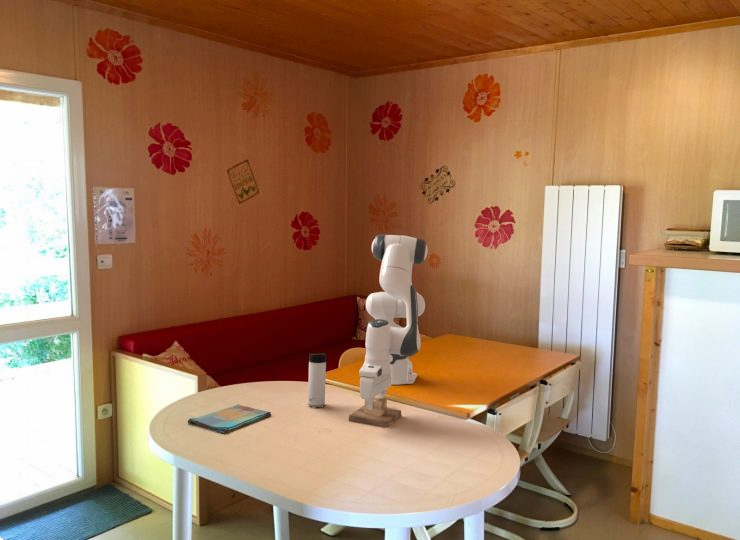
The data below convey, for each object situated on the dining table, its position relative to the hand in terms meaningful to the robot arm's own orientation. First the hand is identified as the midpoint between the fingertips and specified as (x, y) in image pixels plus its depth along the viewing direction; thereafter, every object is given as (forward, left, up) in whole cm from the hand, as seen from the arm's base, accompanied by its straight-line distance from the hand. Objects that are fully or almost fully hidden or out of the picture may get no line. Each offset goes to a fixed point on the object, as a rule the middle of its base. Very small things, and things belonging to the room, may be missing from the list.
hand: (375, 405), depth 208 cm
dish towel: (+25, -43, -5) cm, 50 cm away
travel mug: (-3, -25, -5) cm, 26 cm away
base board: (0, 0, -5) cm, 5 cm away
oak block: (0, 0, -3) cm, 3 cm away
